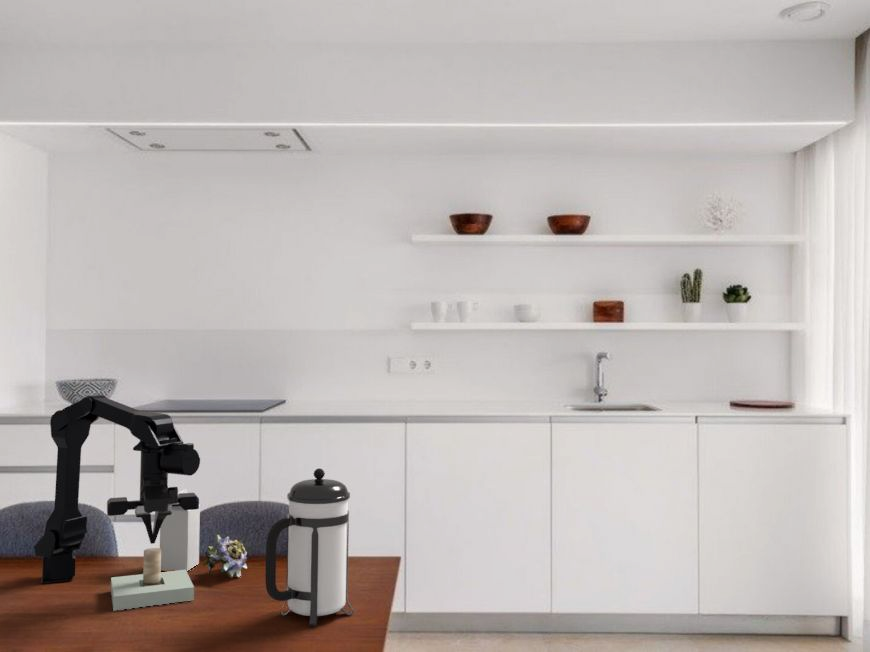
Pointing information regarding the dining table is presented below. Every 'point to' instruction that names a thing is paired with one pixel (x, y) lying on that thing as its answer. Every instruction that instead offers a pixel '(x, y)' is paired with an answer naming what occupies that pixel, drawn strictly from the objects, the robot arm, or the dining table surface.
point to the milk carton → (180, 539)
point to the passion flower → (227, 556)
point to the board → (151, 590)
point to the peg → (152, 567)
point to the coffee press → (313, 549)
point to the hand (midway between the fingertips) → (152, 543)
